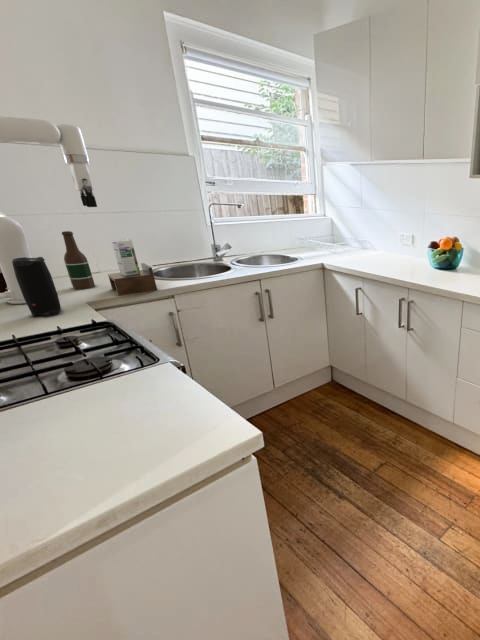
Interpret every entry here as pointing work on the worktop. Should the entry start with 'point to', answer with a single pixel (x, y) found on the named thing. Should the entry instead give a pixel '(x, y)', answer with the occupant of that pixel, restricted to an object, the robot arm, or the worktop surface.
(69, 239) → the beer bottle
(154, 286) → the brown wooden box
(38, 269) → the portable speaker
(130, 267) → the syrup box
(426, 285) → the worktop surface
